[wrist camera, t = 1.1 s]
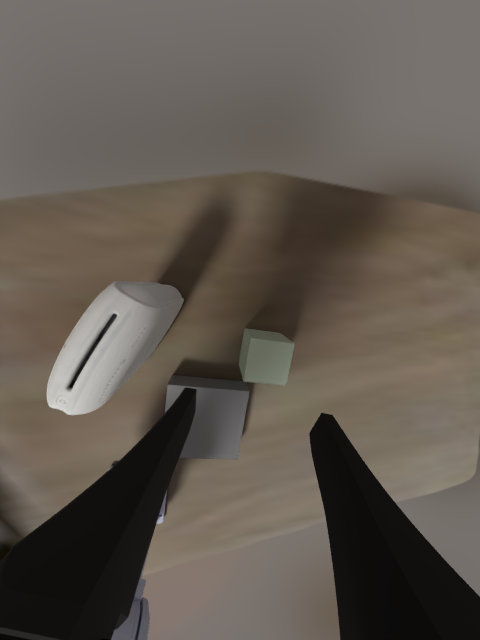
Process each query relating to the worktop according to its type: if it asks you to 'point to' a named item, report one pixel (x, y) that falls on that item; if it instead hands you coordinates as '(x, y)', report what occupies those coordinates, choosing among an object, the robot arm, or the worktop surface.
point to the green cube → (265, 357)
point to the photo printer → (111, 343)
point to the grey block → (212, 415)
